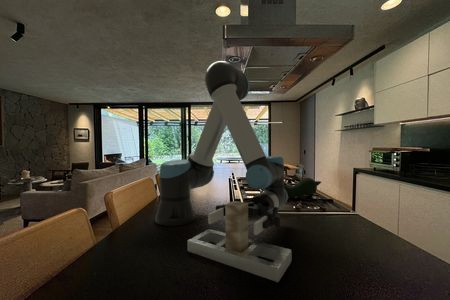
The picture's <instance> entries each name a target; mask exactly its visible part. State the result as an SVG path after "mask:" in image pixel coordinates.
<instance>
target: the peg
mask: <svg viewBox="0 0 450 300" xmlns="http://www.w3.org/2000/svg"><path fill="white" fill-rule="evenodd" d="M224 217H225V221H224V222H225V233H226V248H227V249H230V250H233V251H237V252H240V253H242V252H244V251H245V250H246V249H247V248H248V239H249V215H248V202H244V201H243V202H242V201H240V202H239V201H237V200H233V201H230V202H228V203H226V204H225V216H224Z"/></svg>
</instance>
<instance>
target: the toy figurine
mask: <svg viewBox="0 0 450 300" xmlns="http://www.w3.org/2000/svg"><path fill="white" fill-rule="evenodd" d="M286 170H288V171H291V168H290V166H287V165H284V171H286ZM320 184H322V181H317V180H316V181H315V180H314V179H312V178H310V177H305V178H302V179H300V180H299V182H298V183H296V184H293V186H288V185H286V183H284V189H285V190H286V192H287V195H288V198H290V197H292V198H294V199H296V197H297V198H299V199H300V198H302V199H304V196H307V195H309V196H314V194H315V193H317V189H318V186H319V185H320Z"/></svg>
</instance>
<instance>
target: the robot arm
mask: <svg viewBox="0 0 450 300" xmlns="http://www.w3.org/2000/svg"><path fill="white" fill-rule="evenodd" d="M204 83H205V87H206V89H207V93H208V94H209V96H210V98H211V100H212V101H213V103H212V106H211V107H210V111H209V113H208V115H207V118H206V120H205V123H204V125H203V128H202V132H201V134H200V137H199V139H198V142H197V144H196V147H195V149H194V151H193V152H191V153H190V154H189V156H188V158H187V159H175V160H169V161H168V160H167V161H165V162H162V163H161V165H160V166H159V175H158V176H159V198H160V199H159V203H158V204H159V205H158V208H157V212H156V214H155V223H156V224H157V225H159V226H166V227H176V226H184V225H187V224H190V223H192V222H193V221H195V217H196V215H195V214H196V213H195V211H194V208H193V205H192V202H191V190H194V189H197V188H202V187H204V186H206V185H208V184H210V182H211V181H212V180H213V178H214V174H215V170H214V165H215V163H214V161H213V159H214V156H215V155H216V154H215V153H216V151H217V150H218V147H219V144H220V142H221V139H222V136H223V134H224V132H225V129H226V127H227V129H228V131H229V135H230V136H231V138H232V141H233V142H234V145H235V147H236V149H237V152H238V153H239V155H240V158H241V160H242V162H243V165H244V168H245V169H246V172H245V182H246V184H247V185H248V186H249V187H250V188H252V189H254V190H257V191H258V190H263V191H262V192H261V193H258V194H256V195H253V197H251V198H250V200H249V202H247V203H248V216H250V217H251V216H254V218H256V219H258V220H256V221H255V222H254V223H253V236H257V235H259V234H260V233H262V232H263V231H264V230H267V229H269V228H271V227H273V226H275V228H280V227H281V216H280V213H279V209H280V208H282V207H284V206H285V204H287V202H288V199H289V197H288V195H287V192H286V190H285V189H284V184H285V170H284V166H285V163H284V157H282V156H279V155H278V156H274V155H273V156H267V155H266V153H265V152H264V149H263V147H262V145H261V143H260V141H259V138H258V137H257V135H256V132H255V130H254V129H253V126H252V124H251V122H250V120H249V116H248V115H247V113H246V111H245V109H244V106H243V105H242V102H241V101H242V100H244V99H246V97H247V96H248V94H249V92H250V88H251V83H250V81H249V78H248V76H247V75H246V74H245V73H244V72H243V71H241V70H240V69H238V68H237V67H235V66H234V65H232V64H231V63H230V62H228V61H224V60H219V61H215V62H213V63H212V64H210V65H209V66H208V68H207V69H206V71H205V75H204ZM238 202H241V201H240V200H239V201H238ZM224 217H225V204H220V205H215V210H214V211H211V212H209V213H208V214H207V224H209V225H211V224H213V223H216V222H217V221H219V220H222V219H223V218H224Z"/></svg>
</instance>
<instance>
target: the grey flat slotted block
mask: <svg viewBox="0 0 450 300" xmlns="http://www.w3.org/2000/svg"><path fill="white" fill-rule="evenodd" d="M186 241H187V252H189V253H192V254H195V255H198V256H200V257H203V258H206V259H209V260H212V261H215V262H219V263H221V264H224V265H227V266H229V267H233V268H236V269H239V270H241V271H244V272H247V273H249V274H250V273H251V274H252V275H255V276H259V277H261V278H265V279H267V280H270V281H273V282H276V283H279V282H280V281H281V279H282V277H283V276H284V274H285V272H286V271H287V269H288V268H289V266H290V265H291V263H292V261H293V260H292V259H293V258H292V254H293V253H292V249H290V248H285V247H283V246H278V245H274V244H272V243H271V244H270V243H266V242H262V241H257V240H255V239H251V238H248V248H247V249H246V250H245V251H244V252H242V253H240V252H237V251H233V250H230V249H227V248H226V232H223V231H219V230H215V229H211V228H208V229H206V230H204V231H203V232H200V233H199V234H197V235H195V236H193V237H192V238H190V239H187V240H186ZM212 243H213V244H212ZM259 257H261V258H259ZM263 258H265V259H263ZM266 259H267V260H266ZM270 260H272V261H270Z"/></svg>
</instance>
